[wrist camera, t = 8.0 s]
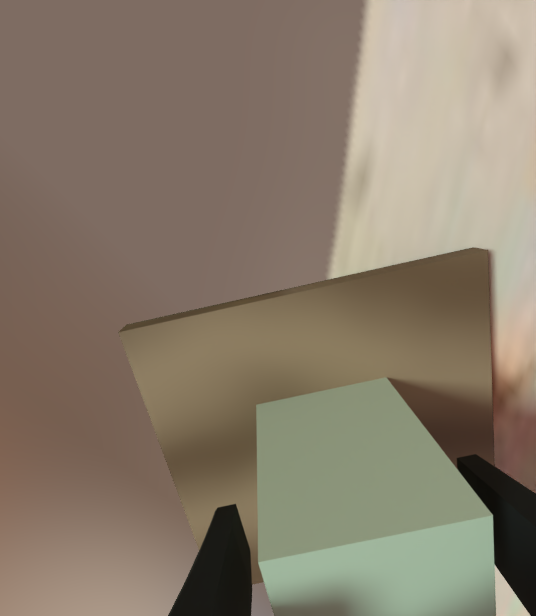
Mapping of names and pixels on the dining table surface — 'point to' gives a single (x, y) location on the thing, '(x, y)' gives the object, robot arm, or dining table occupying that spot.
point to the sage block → (366, 511)
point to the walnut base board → (314, 369)
